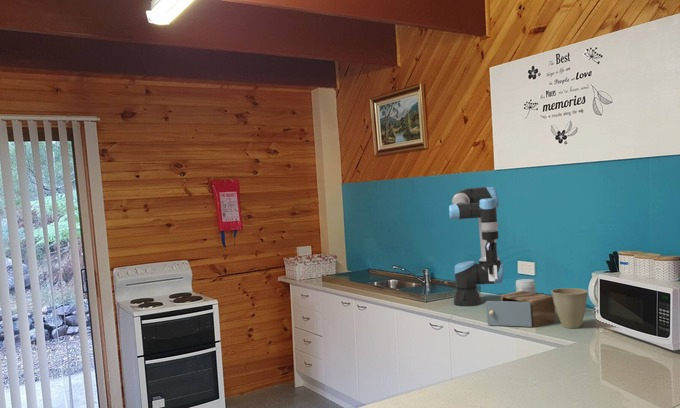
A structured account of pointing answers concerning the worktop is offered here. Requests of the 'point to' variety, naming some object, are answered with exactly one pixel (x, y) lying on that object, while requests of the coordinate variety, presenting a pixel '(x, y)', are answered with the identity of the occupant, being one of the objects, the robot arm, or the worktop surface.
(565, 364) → the worktop surface
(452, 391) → the worktop surface
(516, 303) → the cabinet door
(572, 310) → the plant pot
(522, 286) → the supplement tub
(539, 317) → the cabinet
